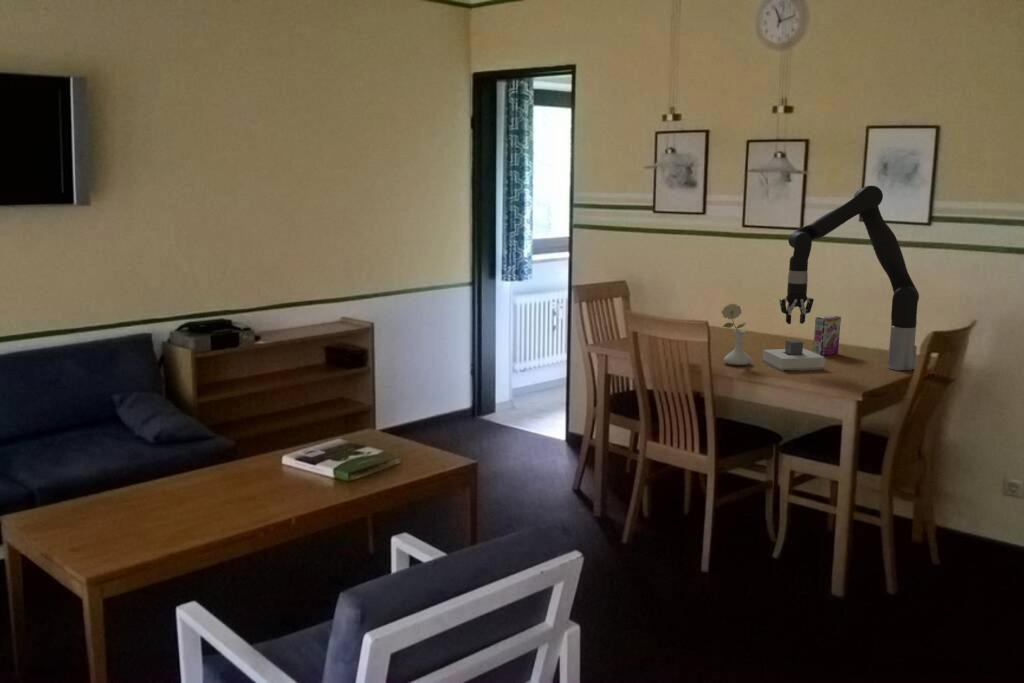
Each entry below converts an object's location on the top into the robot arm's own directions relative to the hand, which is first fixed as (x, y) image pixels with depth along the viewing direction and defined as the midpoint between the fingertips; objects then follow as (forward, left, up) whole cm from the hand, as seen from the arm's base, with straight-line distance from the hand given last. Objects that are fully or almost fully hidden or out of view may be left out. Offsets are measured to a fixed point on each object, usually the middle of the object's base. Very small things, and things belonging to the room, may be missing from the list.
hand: (795, 323), depth 377 cm
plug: (0, 0, -16) cm, 16 cm away
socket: (0, 0, -17) cm, 17 cm away
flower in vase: (+22, -6, -18) cm, 29 cm away
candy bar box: (-24, -19, -18) cm, 35 cm away
